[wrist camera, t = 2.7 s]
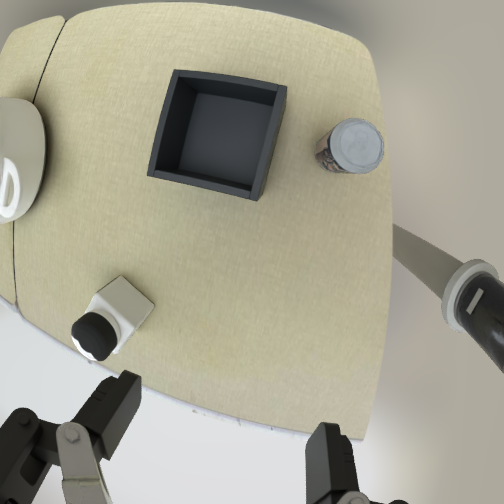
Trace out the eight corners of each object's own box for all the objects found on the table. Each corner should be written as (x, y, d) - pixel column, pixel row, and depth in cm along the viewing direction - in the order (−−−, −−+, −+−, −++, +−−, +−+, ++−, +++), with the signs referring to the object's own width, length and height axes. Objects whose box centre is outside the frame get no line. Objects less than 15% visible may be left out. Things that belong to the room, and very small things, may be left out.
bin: (286, 104, 30) (287, 86, 23) (262, 194, 33) (257, 201, 26) (195, 88, 30) (173, 69, 23) (173, 174, 34) (146, 175, 26)
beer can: (310, 167, 32) (326, 164, 20) (318, 129, 30) (338, 108, 19) (347, 177, 32) (381, 181, 20) (356, 140, 30) (393, 127, 19)
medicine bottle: (121, 273, 39) (73, 308, 27) (156, 305, 39) (117, 350, 28) (103, 302, 41) (60, 339, 29) (135, 331, 41) (99, 376, 30)
